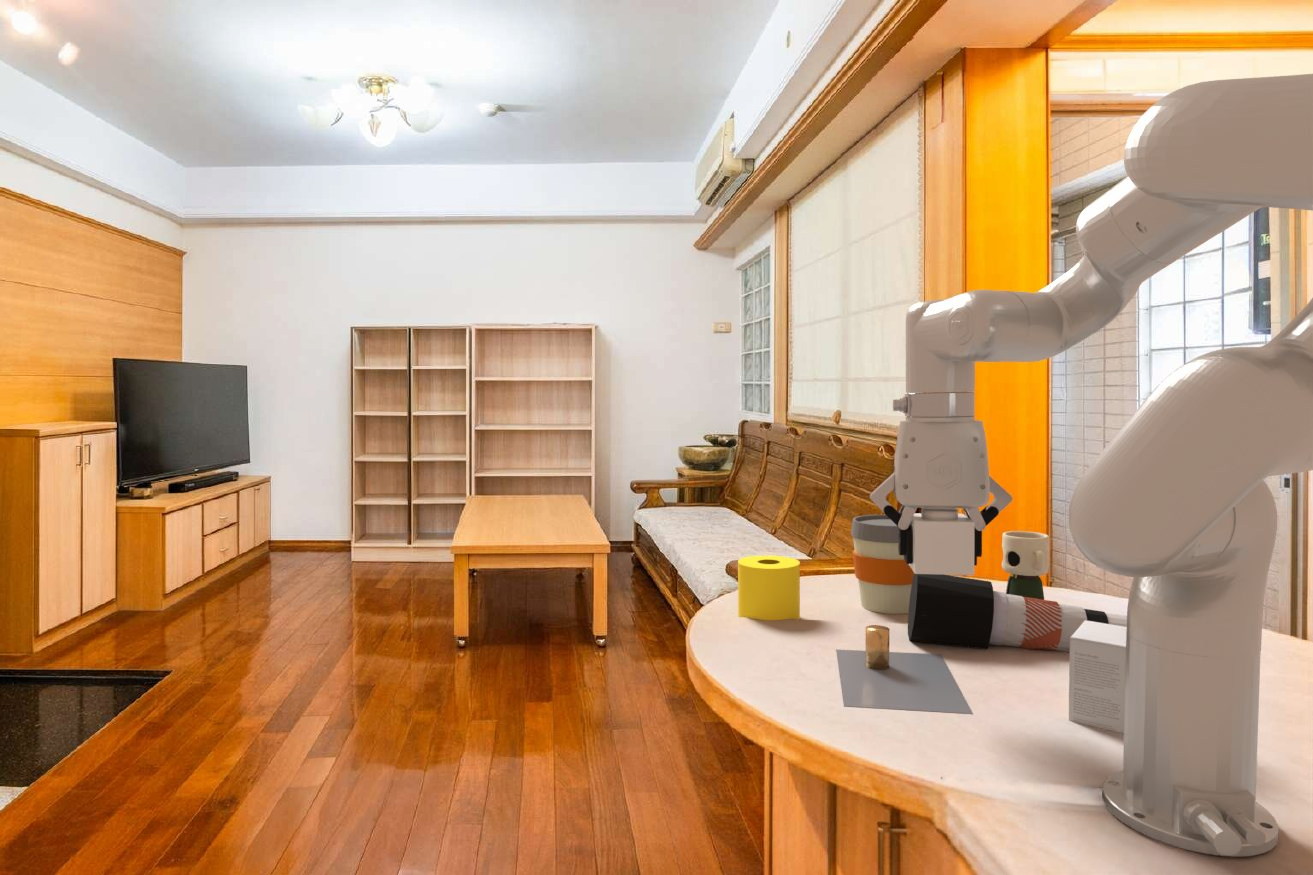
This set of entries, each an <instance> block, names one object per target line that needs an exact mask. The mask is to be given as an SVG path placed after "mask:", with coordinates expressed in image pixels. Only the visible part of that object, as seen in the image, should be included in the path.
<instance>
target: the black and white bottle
mask: <svg viewBox="0 0 1313 875" xmlns="http://www.w3.org/2000/svg"><path fill="white" fill-rule="evenodd" d="M907 614H908V615H907V616H908V617H907V636H908V640H909V641H910V642H911V641H912V642H918V643H919V642H920V643H926V644H933V645H934V644H935V645H941V646H942V645H943V646H950V647H951V646H953V647H961V648H973V649H981V650H988V648H989V645H992V646H1000V647H1001V646H1008V647H1015V648H1021V649H1028V650H1045V651H1055V652H1056V651H1061V652H1066V653H1067V654H1069V655H1070V637H1071V636H1072V635H1073V634H1074V633H1075V631H1076V630H1077V629H1078V628H1079V627H1080V625H1081V624H1082V623H1083V622H1084V621H1085V620H1086V621H1093V622H1099V623H1105V624H1111V625H1117V626H1123V627H1127V615H1123V614H1117V613H1109V612H1105V611H1103V610H1101V611H1100V610H1095V609H1088V608H1084V607H1082V606H1077V605H1069V604H1063V603H1062V604H1061V603H1059V602H1058V601H1054V600H1047V599H1044V600H1041V599H1035V598H1028V597H1022V596H1017V595H1010V594H1006V592H1002V591H997V590H994V587H993V584H992V582H991V581H989V580H985V579H984V580H982V579H977V578H969V577H965V576H964V577H962V576H958V575H941V574H915V573H914V576H913V581H912V586H911V593H910V602H909V612H908V613H907Z"/></svg>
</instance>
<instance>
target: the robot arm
mask: <svg viewBox="0 0 1313 875" xmlns="http://www.w3.org/2000/svg"><path fill="white" fill-rule="evenodd" d="M1123 155H1124V156H1123V166H1124V169H1125V173H1126V174H1127V176H1126V177H1124V178H1123V179H1122V180H1121V181H1119V182H1118V183H1116V184H1115V185H1114V186H1112V187H1111V188H1110V189H1109V190H1107V191H1106V192H1105V193H1103V194H1101V196H1099V197H1097V199H1095V200H1094V201H1092V202H1091V203H1090V204H1088V205H1087V206H1086V207H1084V208H1083V210H1082V211H1081V212H1080V213H1079V215H1078V217H1077V219H1076V220H1077V221H1076V224H1075V234H1076V238H1077V242H1078V246H1079V247H1080V249H1081V252H1082V253H1083V256H1082V258H1080V260H1079V261H1078V262H1077V263H1076V264H1075V265H1073V267H1072V268H1070V269H1069V270H1067V272H1065V273H1064V274H1062V275H1061V276H1059V277H1058V278H1057V279H1055V280H1054V281H1052V282H1051V283H1049V284H1048V285H1047V286H1045V287H1042V288H1041V289H1040V290H1038V291H1036V292H1026V291H1014V290H1013V291H1010V290H993V289H975V290H970V291H966V292H962V293H960V294H957V295H955V296H952V297H949V298H947V299H946V298H945V299H934V300H925V301H920V302H917V303H914V304H912V305H911V306H910V307H909V308H908V309H907V311H906V316H905V394H904V396H902V397H901V398H899V399H892V411H893V412H898V411H899V412H900V413H903V414H904V416H905V420H900V422H899V426H898V431H897V436H896V444H895V450H894V465H893V473H892V474H890V476H889V477H887V478H886V479H885V480H884V481H883V482H882V483H881V484H880V485H879V486H878V487H877V488H875V490H873V491H872V492H871V493H870V495H869V498H870V500H871V502H873V503H874V505H876V507H878V509H880V510H881V511H882V513H884V515H887V516H888V517H889V518H890V519H891V520H892V521H893V522H894V523H895V524H896V525H897V526H898V551H899V555H904V560H905V562H906V563H907V564H912V563H913V531H912V530H911V524H910V522H911V520H912V518H913V516H914V514H915V513H916V511H917V509H921V508H956V509H962V510H963V512H964V515H965V516H967V517H968V518H969V519H971V520H972V521H974V522H975V525H974V566H978V558H982V555H983V531H984V530H985V529H986V527H987V526H988V525H989V524H990V523H991V522H992V521H993V520H994V519H996V518H997V517H998V516H999V514H1000V512H1002V511H1003V510H1004V509H1005V508H1007V506H1008V505H1010V503H1012V501H1013V496H1012V495H1011V494H1010V493H1009V492H1007V490H1006V489H1004V488H1003V487H1002V486H1001V485H1000V484H999V483H998V482H997V481H995V480H994V478H992V476H990V469H989V468H990V467H989V466H990V465H989V457H988V453H989V452H988V446H987V445H988V444H987V438H986V432H985V427H984V423H983V420H979V419H978V420H976V419H975V412H976V410H975V408H976V407H975V406H976V404H975V403H976V402H975V398H976V396H975V393H976V390H975V389H976V387H975V385H976V382H975V381H976V376H975V375H976V373H975V372H976V362H977V363H978V362H979V363H982V362H983V363H984V362H985V363H999V362H1002V363H1003V362H1010V363H1011V362H1014V363H1015V362H1018V363H1031V362H1032V363H1033V362H1034V363H1035V362H1040V361H1044V360H1047V359H1051V358H1053V357H1055V356H1057V355H1060V354H1061V353H1064V352H1065V351H1067V350H1069V349H1071V348H1072V347H1074V346H1076V345H1077V344H1080V343H1081V342H1082V341H1084V340H1086V339H1088V338H1089V337H1090V336H1093V335H1094V334H1095V333H1098V332H1100V330H1102V329H1104V328H1105V327H1106V326H1108V325H1109V324H1110V323H1111V322H1113V321H1115V319H1116V318H1117V317H1118V316H1119V315H1120V314H1121V313H1122V311H1123V310H1124V309H1125V308H1126V307H1127V305H1128V304H1129V303H1131V301H1132V299H1133V298H1134V297H1135V296H1136V294H1137V293H1138V290H1139V288H1140V286H1141V285H1142V284H1143V282H1145V281H1147V280H1148V279H1150V278H1152V276H1154V275H1156V274H1157V273H1158V272H1160V271H1162V270H1163V269H1165V268H1167V267H1168V266H1170V265H1172V264H1173V263H1174V262H1176V261H1177V260H1179V259H1180V258H1182V257H1184V256H1185V255H1187V254H1188V253H1190V252H1192V251H1194V250H1195V249H1197V248H1198V247H1200V246H1201V245H1203V244H1204V243H1206V242H1207V241H1209V240H1211V239H1212V238H1214V237H1216V236H1218V235H1219V234H1221V233H1223V232H1224V231H1226V230H1227V229H1229V228H1231V227H1232V226H1234V225H1236V224H1237V223H1240V221H1242V220H1243V219H1246V218H1247V217H1248V216H1250V215H1251V214H1253V213H1255V212H1257V211H1258V210H1260V209H1261V208H1273V209H1274V208H1276V209H1278V208H1279V209H1288V210H1304V211H1313V73H1306V74H1291V75H1279V76H1278V75H1277V76H1275V75H1273V76H1263V77H1259V76H1258V77H1247V78H1246V77H1244V78H1229V79H1216V80H1208V81H1200V82H1197V83H1192V84H1188V85H1186V86H1183V87H1181V88H1178V89H1177V90H1174V91H1171V92H1170V93H1168V94H1167V95H1164V96H1163V97H1162V98H1161V97H1160V99H1159V100H1158V101H1156V102H1155V103H1154V104H1152V105H1151V106H1150V107H1149V108H1148V109H1147V110H1146V111H1145V112H1144V113H1143V114H1142V115H1141V116H1140V117H1139V119H1138V120H1137V122H1135V124H1134V125H1133V128H1132V130H1131V132H1130V134H1129V136H1128V137H1127V140H1126V144H1125V147H1124V153H1123ZM1310 471H1313V297H1312V298H1311V299H1310V300H1309V302H1308V303H1307V304H1306V305H1305V307H1303V309H1301V310H1300V312H1299V313H1298V314H1297V315H1296V316H1295V317H1294V318H1293V319H1292V320H1291V321H1290V322H1289V323H1288V324H1287V325H1286V326H1285V327H1284V328H1283V329H1282V330H1281V331H1280V332H1278V334H1276V336H1274V337H1273V338H1272V339H1271V340H1270V341H1268V342H1267V343H1265V344H1263V345H1262V346H1236V347H1227V348H1222V349H1217V350H1212V351H1209V352H1206V353H1204V354H1201V355H1199V356H1197V357H1195V358H1193V359H1191V360H1189V361H1187V362H1185V363H1184V364H1183V365H1181V366H1179V367H1178V368H1177V369H1175V370H1174V371H1173V372H1171V373H1170V374H1169V375H1168V376H1167V377H1166V378H1165V379H1163V380H1162V381H1160V383H1159V384H1158V385H1157V386H1156V387H1155V388H1154V389H1153V390H1152V392H1151V393H1150V394H1149V395H1148V396H1147V398H1146V399H1144V401H1142V403H1141V405H1140V406H1138V407H1137V409H1136V410H1135V411H1134V413H1133V414H1132V415H1131V416H1130V417H1129V419H1128V420H1127V421H1126V422H1125V424H1123V426H1122V427H1121V428H1120V429H1119V431H1118V432H1116V434H1115V435H1114V436H1113V437H1112V439H1111V440H1110V441H1109V443H1108V444H1107V445H1106V446H1105V447H1104V449H1102V450H1101V452H1100V453H1099V454H1098V455H1097V457H1096V458H1095V459H1094V460H1093V461H1092V462H1091V464H1090V465H1089V466H1088V468H1087V469H1086V470H1085V472H1084V473H1083V475H1082V476H1081V478H1080V479H1079V481H1078V482H1077V484H1076V485H1075V488H1074V491H1073V492H1072V495H1071V498H1070V502H1069V508H1068V524H1069V525H1068V526H1069V530H1070V534H1071V537H1072V539H1073V542H1074V543H1075V545H1076V547H1077V549H1078V550H1079V551H1080V553H1081V554H1082V555H1083V556H1084V557H1085V559H1087V560H1088V561H1089V562H1090V563H1091V564H1093V565H1094V566H1096V567H1098V568H1100V569H1102V570H1103V571H1106V572H1108V573H1111V574H1114V575H1118V576H1124V577H1128V578H1132V581H1131V585H1130V588H1129V594H1128V600H1127V610H1126V612H1127V613H1126V616H1127V630H1126V659H1125V703H1124V733H1123V748H1122V749H1123V753H1122V754H1123V756H1122V758H1123V760H1122V770H1121V771H1119V772H1115V773H1113V774H1112V775H1110V776H1108V777H1106V779H1105V780H1104V782H1103V786H1102V794H1101V795H1102V801H1103V803H1104V805H1105V806H1106V808H1107V809H1108V811H1109V812H1110V813H1111V814H1112V815H1113V816H1114V817H1115V818H1117V819H1118V820H1119V821H1121V822H1122V823H1124V824H1125V825H1127V826H1128V827H1130V828H1132V829H1133V830H1135V831H1137V832H1138V833H1141V834H1143V835H1146V836H1147V837H1148V838H1151V839H1154V840H1157V841H1159V842H1162V843H1164V844H1167V845H1170V846H1173V847H1175V848H1180V849H1182V850H1186V851H1191V852H1195V853H1200V854H1204V853H1205V854H1206V855H1211V854H1212V855H1211V856H1218V855H1220V857H1233V858H1234V857H1235V858H1237V857H1238V858H1239V857H1253V856H1257V855H1262V854H1264V853H1265V854H1266V853H1267V852H1269V851H1271V850H1273V849H1274V848H1275V846H1277V844H1278V840H1279V824H1278V822H1277V820H1276V818H1275V817H1274V816H1273V815H1272V814H1271V813H1270V811H1268V809H1267V808H1265V807H1264V806H1263V805H1262V804H1261V803H1259V802H1257V801H1256V799H1257V798H1256V796H1257V795H1256V794H1257V769H1258V768H1257V766H1258V742H1259V741H1258V739H1259V708H1260V683H1261V682H1260V681H1261V653H1262V652H1261V651H1262V638H1263V616H1264V615H1263V614H1264V604H1265V596H1266V595H1265V593H1266V589H1267V588H1266V587H1267V583H1268V582H1267V581H1268V575H1269V571H1270V567H1271V562H1272V557H1273V555H1274V554H1273V553H1274V549H1275V544H1276V539H1277V530H1278V512H1277V504H1276V502H1275V499H1274V495H1273V493H1272V491H1271V489H1270V487H1269V486H1268V484H1267V483H1266V481H1265V479H1266V478H1268V477H1272V476H1275V477H1276V476H1281V475H1283V476H1284V475H1290V474H1298V473H1304V472H1310ZM891 492H893V494H894V498H895V499H896V500H897V501H898V503H899V504H901V507H900V509H899V511H898V510H897V509H895V507H893V505H892V504H890V502H889V501H888V500H887V496H888V495H889V494H890V493H891ZM991 495H992V496H993V500H991V502H990V503H989V501H990V496H991ZM988 503H989V504H988ZM987 504H988V505H987ZM985 505H986V506H985ZM984 506H985V507H984ZM981 507H984V508H983V509H981V510H980V508H981ZM1111 782H1112V783H1116V784H1118V785H1114V784H1111ZM1205 854H1204V855H1205Z"/></svg>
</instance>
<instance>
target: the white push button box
mask: <svg viewBox="0 0 1313 875" xmlns="http://www.w3.org/2000/svg"><path fill="white" fill-rule="evenodd" d="M920 510H921V513H920V512H919V513H916V512H915V514H914V516H913V518H912V520H911V522H910V524H911V530H912V531H913V563H912V564H909V566H910V567H911V569H912V570H913V572H914V573H915V574H941V575H950V576H975V565H974V525H975V522H974V521H972V520H971V519H969V518H968V517H967V516H966V514H965V513H959V508H920Z"/></svg>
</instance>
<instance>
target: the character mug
mask: <svg viewBox="0 0 1313 875" xmlns="http://www.w3.org/2000/svg"><path fill="white" fill-rule="evenodd" d="M1001 537H1002V538H1001V541H1002V543H1001V547H1002V555H1003V557H1002V561H1001V567H1002V570H1003V571H1004V572H1006V573H1009V574H1010V575H1009V576H1008V578H1007V582H1006V584H1007V585H1006V591H1005V594H1010V595H1017V596H1022V597H1028V598H1035V599H1041V600H1045V594H1044V588H1043V587H1044V586H1043V580H1042V579H1041V576H1044V575H1047V574H1049V569H1050V535H1048V534H1046V533H1041V532H1035V531H1024V530H1022V531H1021V530H1011V531H1005V532H1003V533H1002V536H1001Z"/></svg>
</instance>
